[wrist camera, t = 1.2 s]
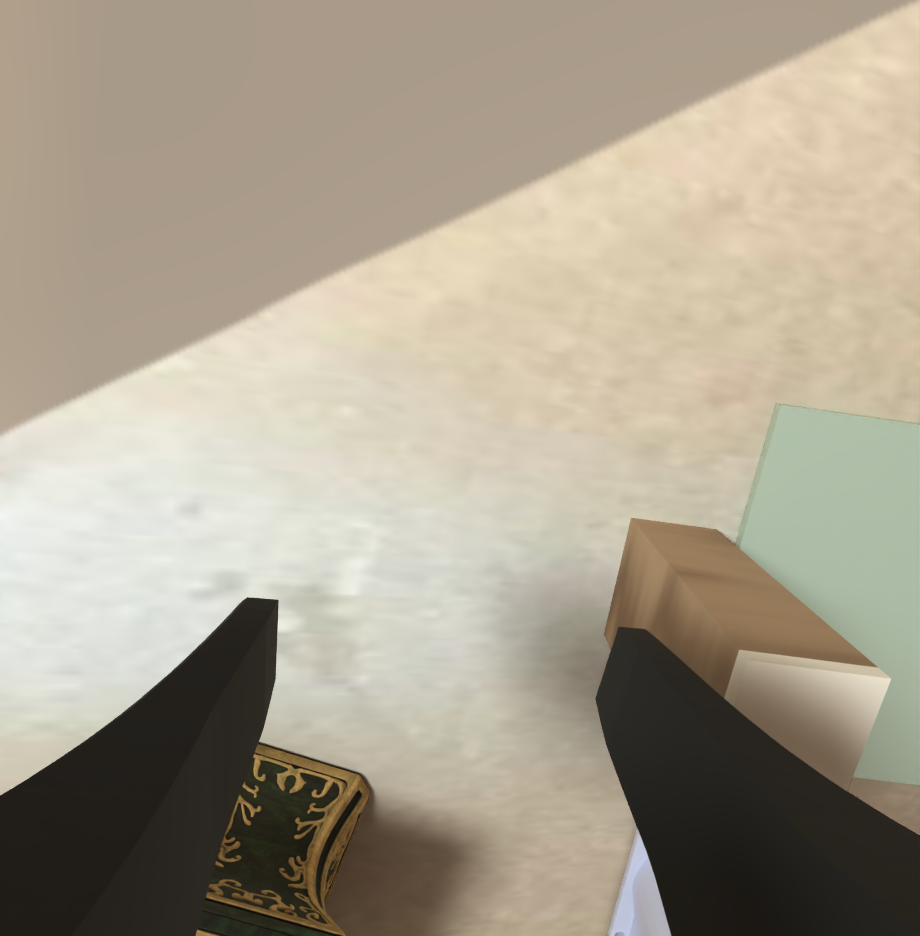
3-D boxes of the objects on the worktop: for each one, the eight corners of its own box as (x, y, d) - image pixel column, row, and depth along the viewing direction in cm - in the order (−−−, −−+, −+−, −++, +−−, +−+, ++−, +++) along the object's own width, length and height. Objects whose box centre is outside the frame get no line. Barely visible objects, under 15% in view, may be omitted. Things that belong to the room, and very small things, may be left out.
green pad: (976, 786, 30) (983, 793, 29) (676, 750, 29) (679, 756, 29) (1131, 454, 25) (1141, 456, 25) (776, 403, 25) (781, 405, 24)
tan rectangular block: (685, 644, 28) (823, 851, 17) (604, 634, 28) (693, 836, 17) (717, 529, 26) (891, 678, 16) (631, 517, 26) (747, 659, 15)
